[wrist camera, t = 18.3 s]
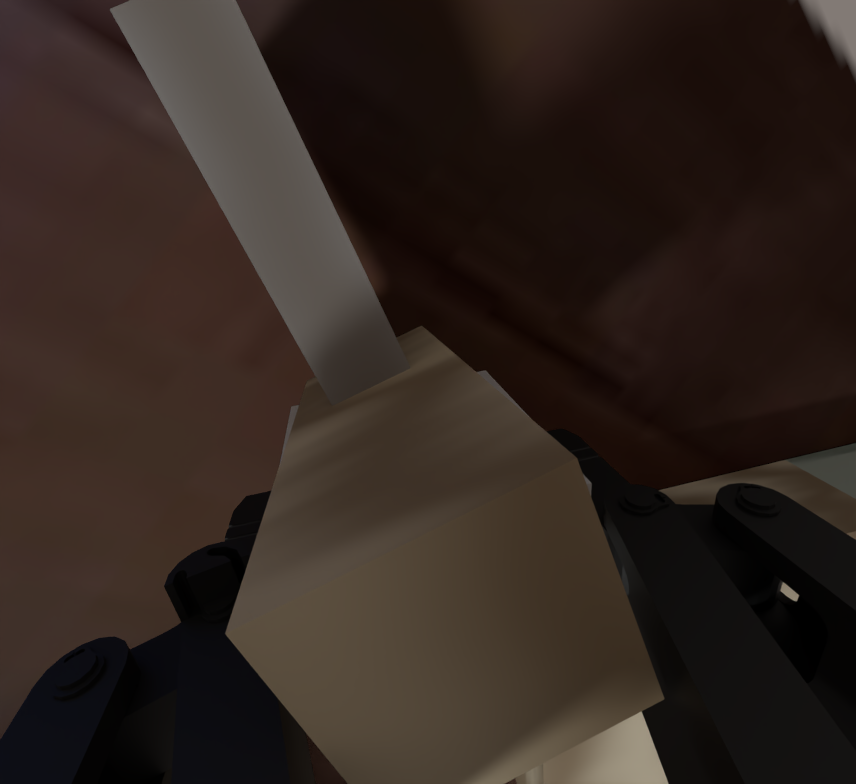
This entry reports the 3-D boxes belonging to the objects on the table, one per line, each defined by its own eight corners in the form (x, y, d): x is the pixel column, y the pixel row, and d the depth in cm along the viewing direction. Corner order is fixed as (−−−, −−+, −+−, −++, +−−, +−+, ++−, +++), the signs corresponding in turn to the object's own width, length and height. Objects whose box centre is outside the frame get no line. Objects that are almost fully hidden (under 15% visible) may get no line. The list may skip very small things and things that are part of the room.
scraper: (453, 638, 18) (575, 1063, 8) (152, 109, 11) (-833, -665, 2) (542, 592, 18) (759, 960, 9) (295, 45, 11) (55, -972, 2)
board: (511, 768, 29) (545, 872, 25) (494, 529, 21) (539, 617, 17) (726, 699, 31) (793, 783, 27) (785, 459, 23) (895, 520, 19)
